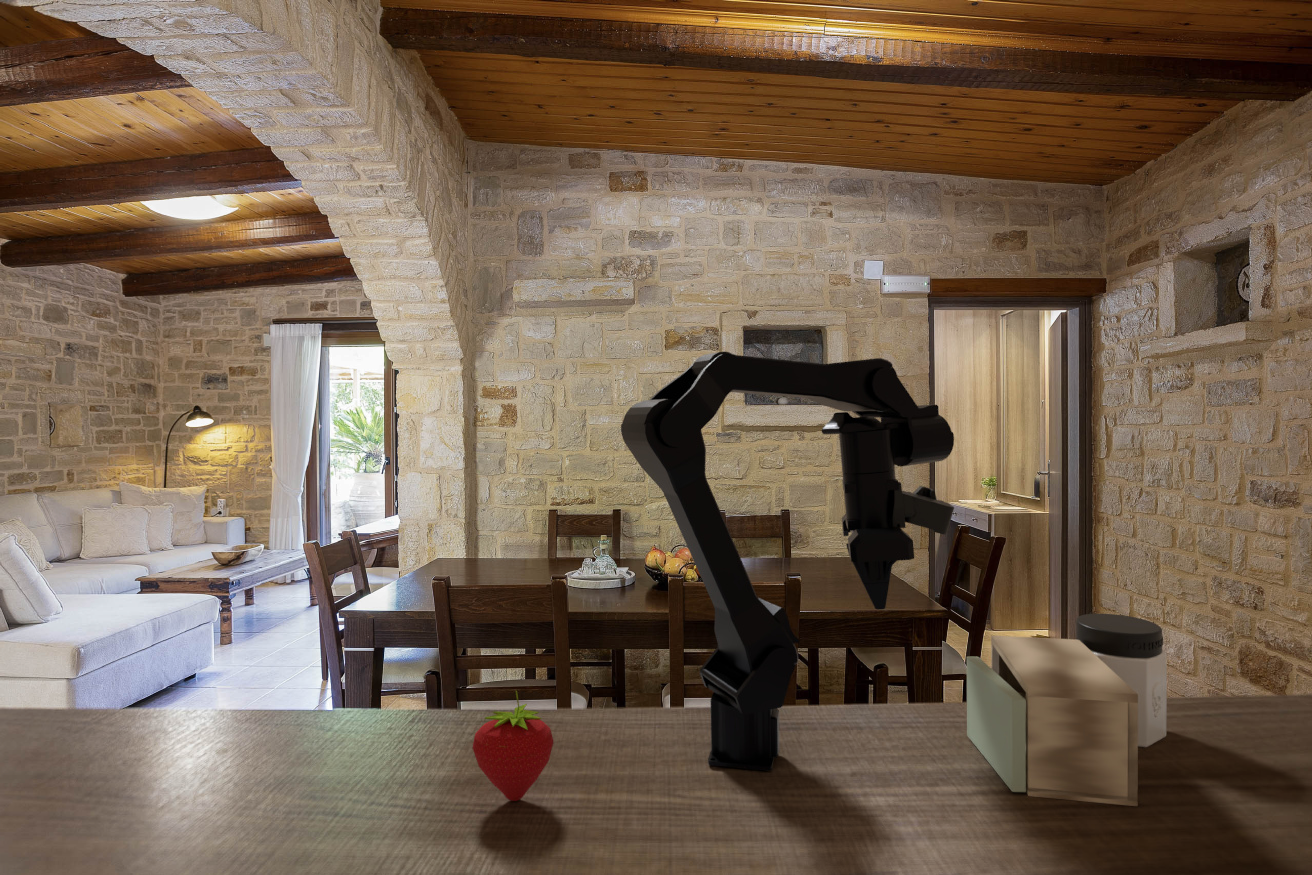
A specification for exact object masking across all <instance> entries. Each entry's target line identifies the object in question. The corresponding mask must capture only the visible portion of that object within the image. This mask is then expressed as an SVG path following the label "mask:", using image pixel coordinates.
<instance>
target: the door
mask: <svg viewBox="0 0 1312 875" xmlns="http://www.w3.org/2000/svg"><path fill="white" fill-rule="evenodd" d="M966 736H967V737H968V739H969V740H970V741H971V742H972V744H973V745H974V746H975V747H976V749H978V751H979V752H980V753H981V755H982V756H983V757H984V758H985V760H986V761H987V762H988V763H989V765H990V766H991V767H992V768H993V770H994V771H995V772H996V773H997V775H998V776H999V777H1000V778H1001V780H1002V781H1003V782H1004V784H1005V785H1006V786H1007V787H1008V789H1010V791H1011V793H1027V792H1026V711H1025V699H1024V698H1023V697H1022V696H1021V695H1020V694H1019V693H1018V692H1017V691H1015V690H1014V689H1013V688H1012V687H1011V686H1010V685H1009V684H1008V683H1007V682H1006V681H1004V680H1003V679H1002V678H1001V677H1000V676H999V675H998V674H997V673H996V672H995V671H993V670H992V669H991V667H990V666H989V665H988V664H987V663H986V662H985V661H984V660H983V659H982V658H980V657H979V656H966Z"/></svg>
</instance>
